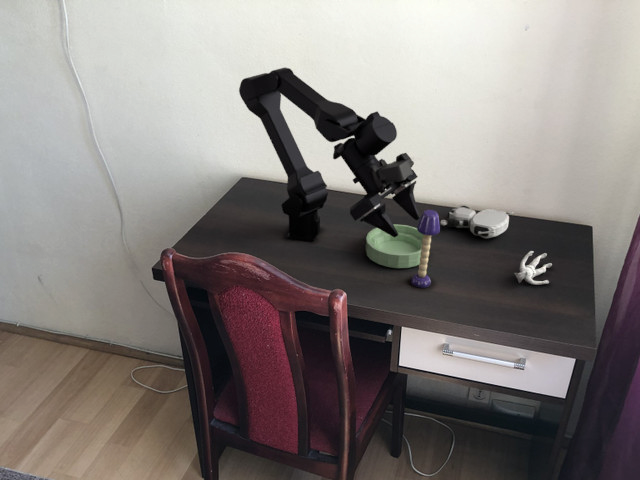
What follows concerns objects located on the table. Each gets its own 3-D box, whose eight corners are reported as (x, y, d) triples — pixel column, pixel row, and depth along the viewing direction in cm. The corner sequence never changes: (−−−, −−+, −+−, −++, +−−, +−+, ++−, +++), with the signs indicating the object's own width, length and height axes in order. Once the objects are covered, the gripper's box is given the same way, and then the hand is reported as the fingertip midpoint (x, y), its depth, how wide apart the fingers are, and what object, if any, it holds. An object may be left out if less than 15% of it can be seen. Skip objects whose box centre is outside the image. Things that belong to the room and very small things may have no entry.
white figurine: (559, 277, 152) (545, 285, 142) (539, 286, 155) (524, 295, 145) (542, 245, 153) (527, 252, 143) (523, 255, 156) (506, 262, 146)
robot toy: (436, 234, 167) (495, 247, 160) (437, 217, 165) (497, 230, 158) (457, 215, 176) (514, 227, 169) (458, 198, 174) (516, 210, 166)
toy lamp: (424, 274, 150) (431, 205, 141) (438, 284, 147) (446, 214, 138) (406, 281, 148) (413, 211, 139) (420, 291, 145) (428, 220, 136)
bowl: (360, 265, 153) (361, 250, 151) (371, 235, 165) (372, 221, 163) (424, 273, 151) (426, 258, 149) (431, 242, 162) (432, 228, 160)
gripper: (364, 159, 130) (412, 227, 131) (412, 131, 143) (455, 193, 144) (329, 188, 138) (374, 252, 139) (378, 158, 151) (419, 217, 152)
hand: (407, 227), depth 143 cm, fingers open, 9 cm apart
